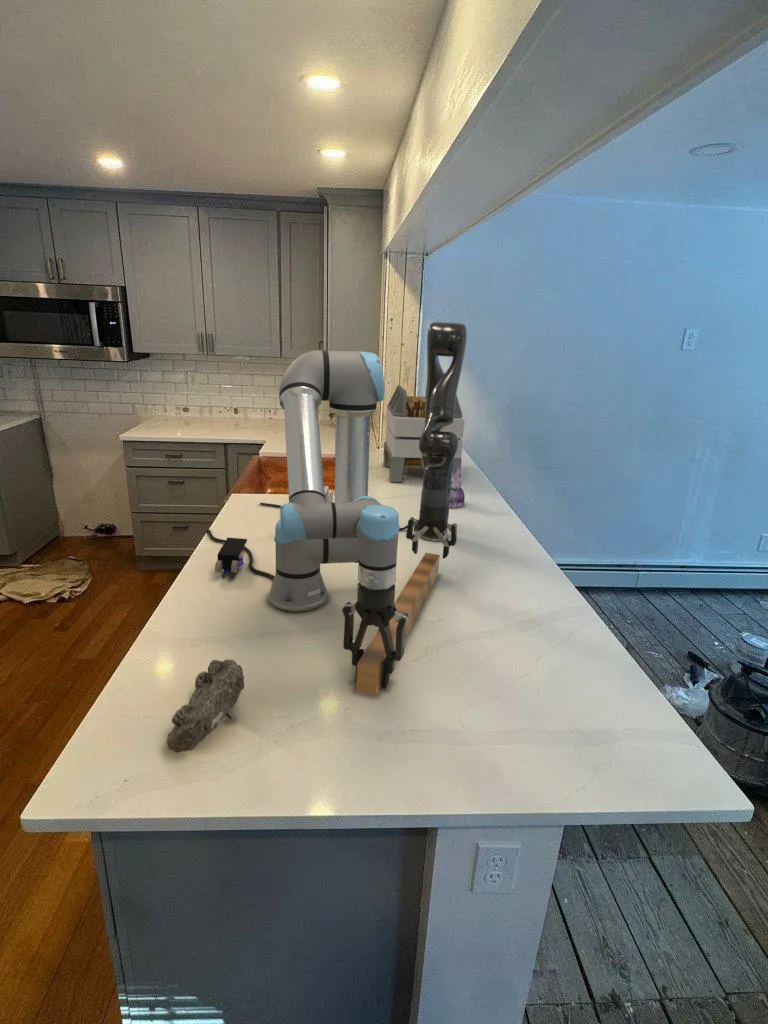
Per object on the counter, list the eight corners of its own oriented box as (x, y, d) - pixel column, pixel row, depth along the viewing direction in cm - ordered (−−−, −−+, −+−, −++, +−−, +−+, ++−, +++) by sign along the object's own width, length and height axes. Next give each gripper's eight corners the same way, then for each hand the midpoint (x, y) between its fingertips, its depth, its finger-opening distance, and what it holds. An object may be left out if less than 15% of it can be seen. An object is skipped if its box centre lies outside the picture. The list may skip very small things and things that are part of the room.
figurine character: (238, 584, 162) (249, 557, 175) (236, 562, 158) (247, 536, 172) (215, 584, 161) (227, 556, 175) (212, 561, 158) (225, 535, 171)
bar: (424, 572, 171) (425, 552, 169) (438, 575, 170) (439, 554, 168) (356, 691, 117) (357, 663, 115) (376, 695, 116) (377, 668, 114)
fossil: (192, 660, 117) (244, 628, 112) (224, 691, 120) (276, 661, 115) (142, 746, 98) (202, 712, 93) (182, 779, 101) (242, 748, 96)
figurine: (451, 509, 226) (454, 473, 221) (437, 502, 234) (440, 467, 229) (470, 507, 230) (474, 471, 225) (456, 499, 238) (459, 465, 233)
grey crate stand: (382, 463, 289) (386, 382, 275) (445, 464, 293) (451, 384, 279) (390, 482, 257) (394, 392, 243) (460, 483, 261) (468, 394, 247)
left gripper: (326, 582, 111) (325, 682, 119) (416, 599, 107) (409, 702, 114) (340, 567, 118) (338, 662, 126) (425, 582, 113) (418, 680, 121)
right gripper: (406, 502, 157) (402, 556, 162) (456, 509, 153) (451, 564, 159) (412, 495, 164) (409, 546, 169) (461, 501, 160) (456, 554, 165)
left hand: (372, 681), depth 120 cm, fingers open, 5 cm apart
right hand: (430, 555), depth 164 cm, fingers open, 8 cm apart
